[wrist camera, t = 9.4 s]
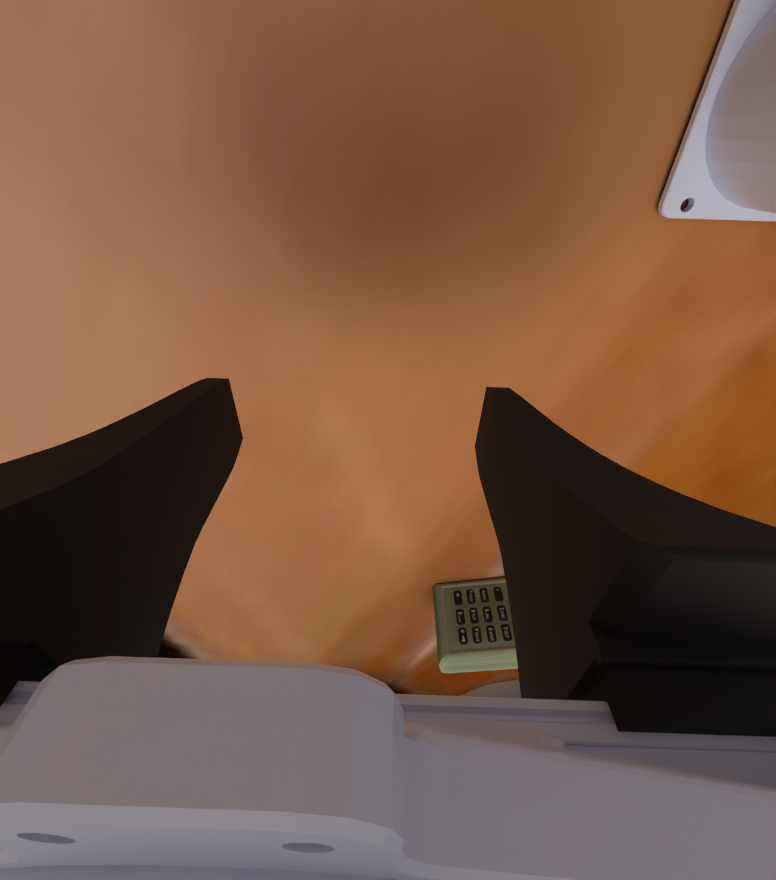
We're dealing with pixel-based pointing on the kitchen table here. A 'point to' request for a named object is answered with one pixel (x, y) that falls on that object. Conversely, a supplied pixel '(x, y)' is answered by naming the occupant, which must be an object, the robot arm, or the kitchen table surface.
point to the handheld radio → (474, 626)
